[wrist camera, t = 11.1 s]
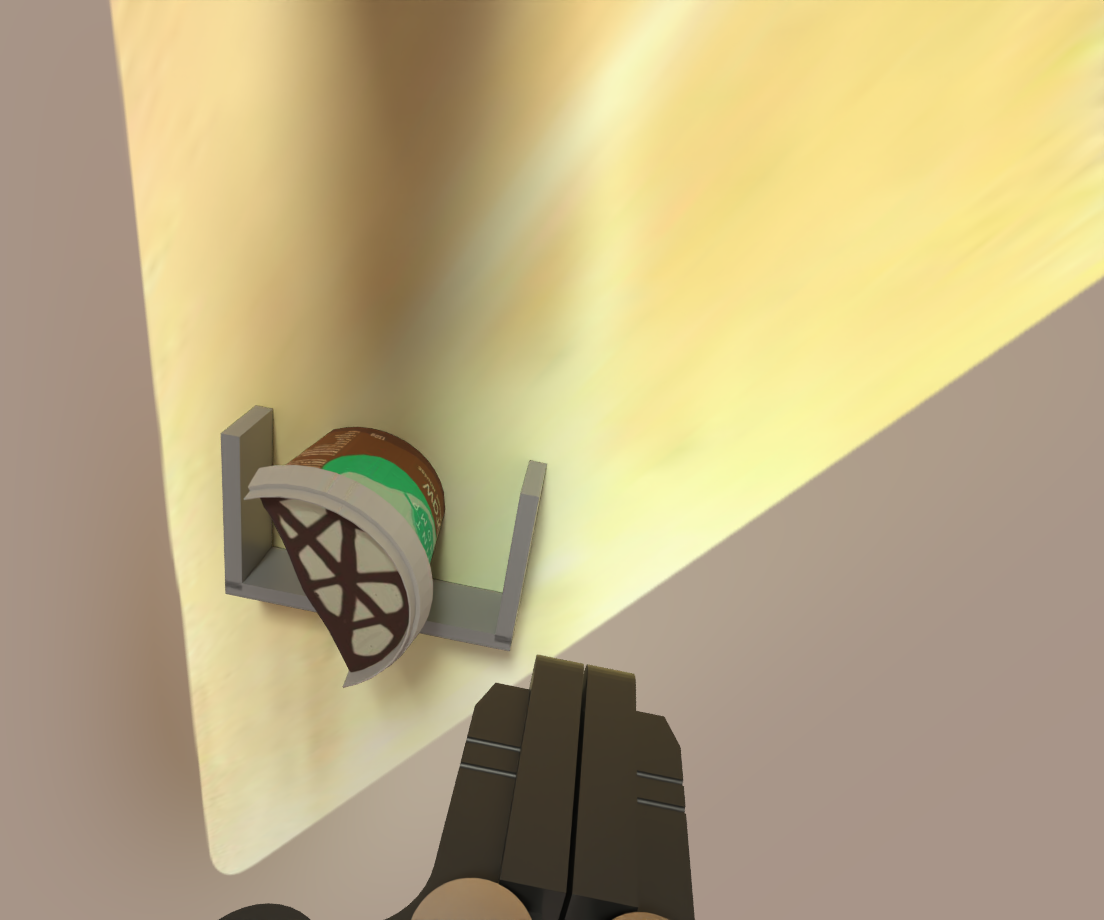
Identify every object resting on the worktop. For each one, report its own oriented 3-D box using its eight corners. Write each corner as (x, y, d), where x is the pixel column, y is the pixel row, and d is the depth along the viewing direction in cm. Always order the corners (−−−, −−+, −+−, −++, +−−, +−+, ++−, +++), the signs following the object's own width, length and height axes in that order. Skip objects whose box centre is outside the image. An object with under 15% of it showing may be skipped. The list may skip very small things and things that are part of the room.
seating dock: (255, 405, 42) (220, 433, 38) (546, 463, 42) (539, 497, 38) (256, 556, 47) (225, 593, 43) (518, 609, 46) (509, 651, 43)
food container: (492, 563, 45) (459, 676, 36) (401, 582, 46) (347, 695, 37) (421, 380, 40) (362, 457, 31) (322, 406, 42) (238, 488, 33)
